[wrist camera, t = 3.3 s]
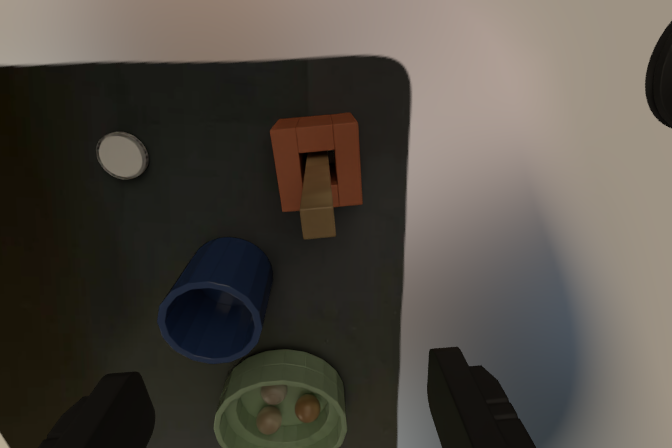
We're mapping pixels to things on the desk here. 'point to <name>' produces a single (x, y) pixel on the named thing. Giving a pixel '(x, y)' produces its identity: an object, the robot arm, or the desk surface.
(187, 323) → the crock
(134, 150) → the grey bottle cap
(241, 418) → the bowl
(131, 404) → the robot arm
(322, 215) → the stick
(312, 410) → the bead
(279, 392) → the bead
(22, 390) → the desk surface
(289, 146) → the holder
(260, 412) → the bead
